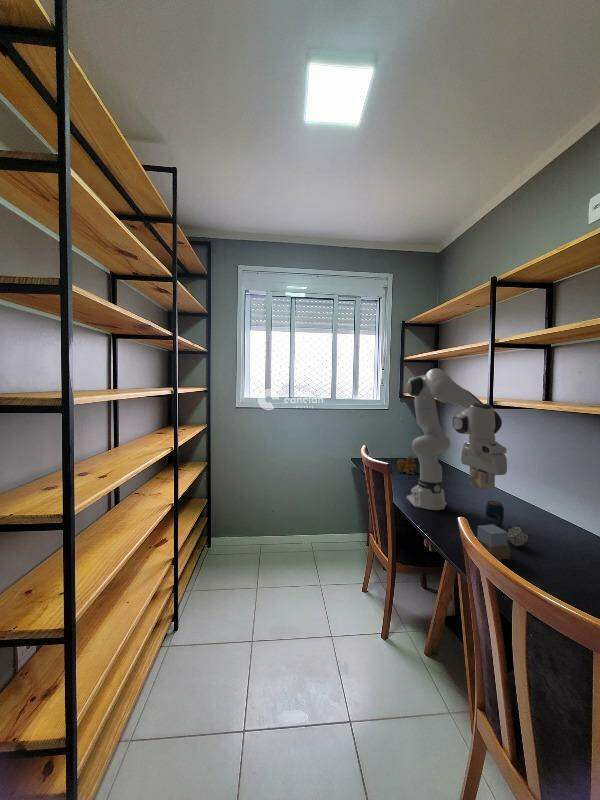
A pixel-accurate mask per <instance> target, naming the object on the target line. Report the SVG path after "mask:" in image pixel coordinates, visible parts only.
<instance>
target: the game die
mask: <svg viewBox="0 0 600 800" xmlns="http://www.w3.org/2000/svg"><path fill="white" fill-rule="evenodd" d="M505 531H506V532H508V541H509V543H511V545H513V546H514V549H516V548H517V547H524V548H526V545H529V543H528V541H529V537H531V536H532V535H531V534H529V535H528V533H527V532H525V529H522V528H521V527H520V525H519V524H518V525H517V526H513V527H512V526H509V525H508V528H506V529H505Z"/></svg>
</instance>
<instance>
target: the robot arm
mask: <svg viewBox="0 0 600 800" xmlns="http://www.w3.org/2000/svg"><path fill="white" fill-rule="evenodd" d="M406 390H407V393H408V394H409V395H410V396H411V397H414V399H413V400H414V411H415V412H414V413H415V417H416V419H415V420H416V424H417V426H418V427H419V428H420V429H421V430H422V432H423V434H424V435H420V436H418V437H416V438H414V439H413V440H412V443H411V449H412V451H413V453H414V454H415V455H416V457H417V458H418V463H419V478H418V477H417V481H418V482H417V485H414V486H413V487H412V488H411V490H410V494H408V495H407V496H406V499H407V500H408V501H409V502H410V503H411V504H412V505H413V506H414V507H415V508H421V509H425V510H430V511H440V510H441V511H442V510H444V509H446V506H447V502H446V500H445V499H446V497H445V490H444V489H443V488H444V486H443V485H444V482H443V467H442V464H440V463H439V460H438V454H439V455H440V454H443V453H445V452H446V451H447V450H449V449H450V447H451V441H450V438H449V437H448V436H447V435H446V434H445V432H444V430H443V428H442V426H441V424H440V419H439V416H438V409H437V404H436V400H437V401H438V402H441V403H445V404H452V405H458V406H462V407H464V408H466V409H464V410H462V411H458V412H456V413H455V414H454V416H453V417H452V426H453V429H454V430H455V432H456V433H458V434H462V435H469V436H468V442H465V443H464V444H463V445H462V449H461V457H460V462H461V464H462V465H464V466H468V467H469V471H470V470H471V469H480V470H483V471H486V472H488V475H489V476H488V478H487V479H486V483H488V484H493V479H494V477H496V476H504V475H506V474H507V472H508V461H507V459H508V458H507V456H506V454H507V450H508V449H507V447H505V446H503V445H502V444H501V443H499V442H497V441H496V434H497V433H498V432H499V431H500V429H501V428H502V426H503V421H502V418H501V416H500V415H499V413H498V412H496V410H494V408H493V406H492V405H491V404H488V403H483V401H481V400H480V399H479V398H478V397H477V396H475V394H473V393H472V392H470V391H469V390H467V389H465V388H463V386H461V385H459V384H458V383H456V382H455V381H454V380H453V379H452V377H450V376H449V374H447V372H445V371H443V370H442V369H440V368H432V369H429V371H427V372H426V373H425V374H423V375H417V376H412V377H410V378H408V380H407V382H406Z"/></svg>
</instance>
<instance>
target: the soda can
mask: <svg viewBox="0 0 600 800" xmlns="http://www.w3.org/2000/svg"><path fill="white" fill-rule="evenodd" d="M504 509H505V508H504V506H503V503H501V502H500V501H497V500H496V501H495V500H488V501H487V503H486V504H485V521H484V522H485V524H484V525H495V526H497V527H499V528H501V529H503V530H504V516H505V515H504V514H505V513H504V511H505V510H504Z"/></svg>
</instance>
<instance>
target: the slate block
mask: <svg viewBox="0 0 600 800" xmlns="http://www.w3.org/2000/svg"><path fill="white" fill-rule="evenodd" d="M477 538H478V539H479V540H481V541H482V542H484V543H486V544H487V545H489V546H490V547H498V546H508V545H509V544H508V541H509V540H508V532H507V530H504V528H503V529H501V528H499V527H497V526H495V525H485V524H484V525H477Z"/></svg>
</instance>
